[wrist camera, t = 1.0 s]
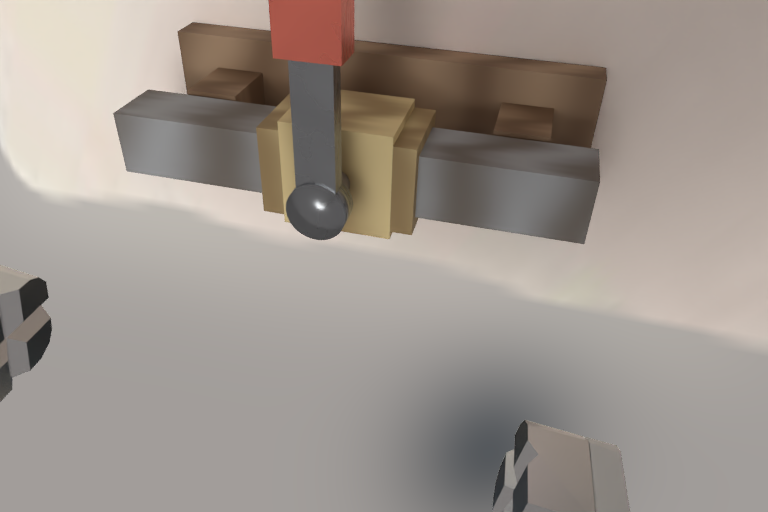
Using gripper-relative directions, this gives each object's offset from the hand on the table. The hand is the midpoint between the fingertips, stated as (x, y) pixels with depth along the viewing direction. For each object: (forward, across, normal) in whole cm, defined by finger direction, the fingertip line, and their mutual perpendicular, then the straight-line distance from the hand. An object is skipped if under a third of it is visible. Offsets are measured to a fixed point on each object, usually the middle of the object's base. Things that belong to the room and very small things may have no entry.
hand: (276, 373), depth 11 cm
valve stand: (+32, +3, +8) cm, 34 cm away
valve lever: (+20, +4, +3) cm, 21 cm away
